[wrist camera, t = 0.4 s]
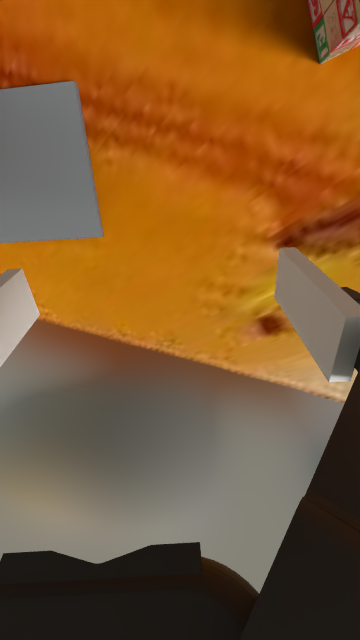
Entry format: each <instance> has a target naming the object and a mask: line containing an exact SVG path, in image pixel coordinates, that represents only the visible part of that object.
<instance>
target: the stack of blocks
mask: <svg viewBox="0 0 360 640" xmlns="http://www.w3.org/2000/svg"><path fill="white" fill-rule="evenodd" d="M307 1H308V7H309V12H310V17H311V22H312V28H313V30H314V35H315V41H316V46H317V52H318V57H319V63H320V64H322V63H324V62H326V61H328V60H330V59H332V58H334V57H336V56H338V55H340V54H342V53H344V52H346V51H348V50H352V49H354V48H356V47H358V46H359V45H360V0H307Z"/></svg>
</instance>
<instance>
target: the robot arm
mask: <svg viewBox="0 0 360 640" xmlns="http://www.w3.org/2000/svg"><path fill="white" fill-rule="evenodd" d="M274 297H275V299H276V300H277V302H278V304H279V305H280V307H281V308H282V310H283V311H284V313H285V315H286V316H287V318H288V319H289V321H290V322H291V324H292V325H293V327H294V329H295V330H296V332H297V333H298V335H299V336H300V338H301V340H302V341H303V343H304V344H305V346H306V347H307V349H308V351H309V352H310V354H311V355H312V357H313V358H314V360H315V361H316V363H317V365H318V366H319V368H320V369H321V371H322V372H323V374H324V376H325V377H326V379H327V380H328V382H342V381H351V377H352V374H353V371H354V368H355V369H356V370H357V371H358V374H357V376H356V378H355V381H354V383H353V385H352V388H351V390H350V392H349V395H348V397H347V399H346V402H345V404H344V406H343V409H342V411H341V413H340V416H339V418H338V420H337V423H336V425H335V427H334V429H333V432H332V434H331V436H330V439H329V441H328V443H327V446H326V448H325V450H324V453H323V455H322V457H321V460H320V462H319V464H318V467H317V469H316V471H315V474H314V476H313V478H312V481H311V483H310V485H309V488H308V490H307V492H306V494H305V496H304V497H303V498H302V499H301V501H300V503H299V505H298V507H297V509H296V512H295V514H294V516H293V518H292V521H291V523H290V525H289V528H288V530H287V532H286V534H285V537H284V540H283V541H282V544H281V546H280V548H279V550H278V553H277V555H276V557H275V560H274V562H273V564H272V566H271V569H270V571H269V573H268V576H267V578H266V580H265V582H264V585H263V587H262V590H261V592H260V594H259V593H258V592H257V591H256V590H255V589H254V588H253V587H252V586H251V585H250V584H249V582H247V581H246V580H245V579H244V578H243V577H241V576H240V575H239V574H237V573H236V572H235V571H233V570H231V569H230V568H228V567H227V566H225V565H223V564H221V563H219V562H216V561H214V560H211V559H208V558H204V557H201V550H200V542H197V543H196V542H195V543H178V544H160V545H150V546H147V547H144V548H142V549H139V550H136V551H134V552H131V553H128V554H126V555H123V556H120V557H118V558H115V559H112V560H109V561H106V562H104V563H100V564H94V563H91V562H87V561H84V560H80V559H77V558H74V557H70V556H67V555H64V554H60V553H57V552H54V551H38V552H20V553H4V554H3V556H2V558H1V561H0V640H360V293H358V292H357V291H354V290H352V289H350V288H347V287H339V286H338V285H337V284H336V283H335V282H333V281H332V280H331V279H330V278H329V277H328V276H327V275H326V274H325V273H323V272H322V271H321V270H320V269H319V268H318V267H317V266H316V265H314V264H313V263H312V262H311V261H310V260H309V259H308V258H307V257H305V256H304V255H303V254H302V253H301V252H300V251H299V250H298V249H296V248H295V247H291V248H280V250H279V260H278V269H277V278H276V287H275V296H274ZM39 315H40V314H39V311H38V309H37V306H36V303H35V301H34V298H33V296H32V293H31V290H30V288H29V285H28V282H27V280H26V277H25V275H24V272H23V269H11V270H7V271H5V272H4V273H3V274H2V275H0V367H1V365H2V364H3V363H4V362H5V360H6V359H7V358H8V356H9V355H10V353H11V352H12V351H13V350H14V348H15V347H16V346H17V344H18V343H19V342H20V340H21V339H22V338H23V336H24V335H25V333H26V332H27V331H28V330H29V328H30V327H31V326H32V324H33V323H34V322H35V320H36V319H37V318H38V316H39ZM201 561H202V562H201Z"/></svg>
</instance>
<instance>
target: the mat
mask: <svg viewBox="0 0 360 640" xmlns="http://www.w3.org/2000/svg"><path fill="white" fill-rule="evenodd" d="M103 236H104V235H103V229H102V224H101V218H100V212H99V206H98V200H97V195H96V189H95V183H94V177H93V171H92V166H91V160H90V154H89V148H88V142H87V137H86V131H85V125H84V119H83V113H82V108H81V102H80V96H79V90H78V85H77V83H76V82H75V81H69V82H60V83H52V84H43V85H35V86H26V87H18V88H9V89H0V243H9V242H27V241H44V240H62V239H79V238H97V237H103Z"/></svg>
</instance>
